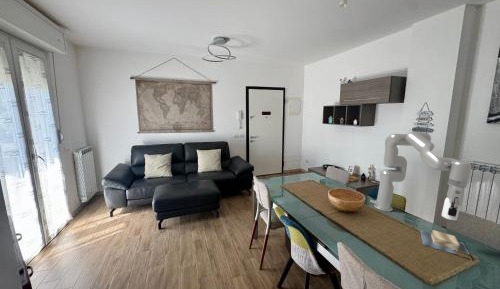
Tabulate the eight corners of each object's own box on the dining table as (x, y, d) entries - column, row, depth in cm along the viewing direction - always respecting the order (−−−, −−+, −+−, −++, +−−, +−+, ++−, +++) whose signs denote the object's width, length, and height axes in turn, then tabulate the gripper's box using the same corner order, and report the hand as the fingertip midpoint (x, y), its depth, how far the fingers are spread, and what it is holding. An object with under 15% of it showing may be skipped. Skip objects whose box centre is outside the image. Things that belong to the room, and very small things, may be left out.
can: (451, 221, 114) (456, 200, 112) (438, 215, 120) (442, 196, 118) (459, 220, 115) (464, 200, 113) (446, 214, 122) (450, 195, 120)
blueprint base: (423, 245, 118) (424, 237, 117) (419, 231, 133) (421, 224, 132) (472, 260, 107) (474, 252, 106) (462, 243, 122) (464, 236, 121)
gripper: (471, 189, 105) (463, 221, 108) (462, 180, 119) (455, 209, 122) (451, 185, 109) (444, 216, 112) (444, 177, 123) (438, 206, 126)
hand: (450, 212), depth 117 cm, fingers closed on can, 6 cm apart
